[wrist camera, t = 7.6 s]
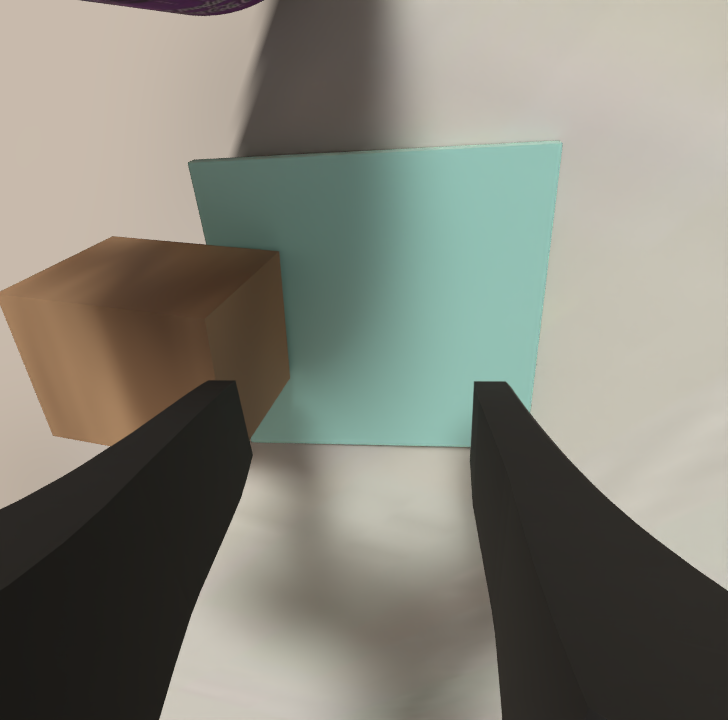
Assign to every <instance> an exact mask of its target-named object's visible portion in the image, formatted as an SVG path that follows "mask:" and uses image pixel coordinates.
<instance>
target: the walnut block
mask: <svg viewBox="0 0 728 720" xmlns="http://www.w3.org/2000/svg"><path fill="white" fill-rule="evenodd" d="M0 306H1V308H2V310H3V313H4V316H5V318H6V321H7V323H8V325H9V328H10V330H11V333H12V335H13V338H14V340H15V343H16V345H17V348H18V350H19V352H20V355H21V358H22V360H23V362H24V365H25V367H26V370H27V372H28V375H29V377H30V380H31V382H32V385H33V387H34V390H35V392H36V395H37V397H38V400H39V402H40V404H41V407H42V409H43V412H44V414H45V417H46V419H47V422H48V424H49V427H50V429H51V432H52V434H53V436H58V437H63V438H68V439H74V440H80V441H85V442H91V443H96V444H101V445H107V446H112V445H114V444H115V443H117V442H118V441H120V440H121V439H123V438H124V437H126V436H128V435H129V434H130V433H132V432H133V431H135V430H136V429H138V428H139V427H140V426H142V425H143V424H145V423H146V422H148V421H149V420H150V419H152V418H153V417H155V416H156V415H158V414H159V413H160V412H162V411H163V410H165V409H166V408H167V407H169V406H170V405H172V404H173V403H175V402H176V401H177V400H179V399H180V398H182V397H183V396H184V395H186V394H187V393H189V392H190V391H192V390H193V389H195V388H196V387H198V386H199V385H201V384H203V383H204V382H206V381H208V380H236V384H237V389H238V393H239V397H240V402H241V406H242V410H243V415H244V419H245V423H246V428H247V432H248V436H249V440H250V439H251V437H252V436H253V434H254V433H255V431H256V429H257V428H258V426H259V425H260V423H261V422H262V420H263V419H264V417H265V416H266V414H267V413H268V411H269V410H270V408H271V407H272V405H273V403H274V402H275V400H276V399H277V397H278V396H279V394H280V393H281V391H282V390H283V388H284V387H285V385H286V384H287V382H288V381H289V379H290V370H289V359H288V347H287V336H286V324H285V312H284V301H283V289H282V278H281V266H280V255H279V251H271V250H260V249H248V248H237V247H226V246H215V245H204V244H193V243H181V242H170V241H158V240H148V239H136V238H125V237H114V236H112V237H110V238H108V239H106V240H104V241H102V242H100V243H98V244H96V245H94V246H92V247H90V248H88V249H86V250H84V251H82V252H80V253H78V254H76V255H74V256H72V257H69V258H68V259H65V260H63V261H61V262H59V263H57V264H55V265H53V266H51V267H49V268H47V269H45V270H43V271H41V272H39V273H37V274H35V275H33V276H31V277H29V278H27V279H25V280H23V281H21V282H19V283H17V284H15V285H12V286H10V287H8V288H6V289H4V290H2V291H1V292H0Z"/></svg>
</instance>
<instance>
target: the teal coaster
mask: <svg viewBox="0 0 728 720" xmlns="http://www.w3.org/2000/svg"><path fill="white" fill-rule="evenodd" d="M562 144H563V143H562V142H560V141H540V142H522V143H503V144H484V145H465V146H446V147H427V148H408V149H389V150H370V151H351V152H332V153H313V154H294V155H275V156H256V157H237V158H219V159H199V160H192V161H190V162H188V166H189V170H190V175H191V179H192V184H193V188H194V192H195V196H196V201H197V205H198V210H199V214H200V219H201V223H202V227H203V232H204V236H205V240H206V245H215V246H226V247H237V248H248V249H260V250H271V251H279V255H280V266H281V278H282V289H283V301H284V312H285V324H286V336H287V347H288V359H289V370H290V379H289V381H288V382H287V384H286V385H285V387H284V388H283V390H282V391H281V393H280V394H279V396H278V397H277V399H276V400H275V402H274V403H273V405H272V407H271V408H270V410H269V411H268V413H267V414H266V416H265V417H264V419H263V420H262V422H261V423H260V425H259V426H258V428H257V429H256V431H255V433H254V434H253V436H252V437H251V442H263V443H311V444H358V445H406V446H453V447H471V430H472V411H473V391H474V381H506V382H507V383H508V384H509V385H510V386H511V388H512V389H513V390H514V392H515V393H516V395H517V396H518V398H519V399H520V400H521V402H522V403H523V404H524V406H525V407H526V409H527V410H528V411H529V412H530V409H531V401H532V392H533V384H534V376H535V368H536V359H537V351H538V343H539V335H540V326H541V318H542V310H543V301H544V293H545V285H546V277H547V268H548V260H549V252H550V244H551V235H552V227H553V219H554V210H555V202H556V194H557V186H558V177H559V169H560V161H561V153H562Z"/></svg>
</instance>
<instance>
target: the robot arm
mask: <svg viewBox="0 0 728 720" xmlns="http://www.w3.org/2000/svg"><path fill="white" fill-rule="evenodd" d="M252 456H253V454H252V449H251V445H250V441H249V436H248V432H247V428H246V423H245V419H244V415H243V410H242V406H241V402H240V397H239V393H238V389H237V384H236V380H208V381H206V382H204V383H203V384H201V385H199V386H198V387H196V388H195V389H193V390H192V391H190V392H189V393H187V394H186V395H184V396H183V397H182V398H180V399H179V400H177V401H176V402H175V403H173V404H172V405H170V406H169V407H167V408H166V409H165V410H163V411H162V412H160V413H159V414H158V415H156V416H155V417H153V418H152V419H150V420H149V421H148V422H146V423H145V424H143V425H142V426H140V427H139V428H138V429H136V430H135V431H133V432H132V433H130V434H129V435H128V436H126V437H124V438H123V439H121V440H120V441H118V442H117V443H115V444H114V445H112V446H111V447H109V448H108V449H106V450H104V451H103V452H101V453H100V454H98V455H97V456H95V457H94V458H92V459H91V460H89V461H87V462H86V463H84V464H83V465H81V466H80V467H78V468H76V469H75V470H73V471H71V472H70V473H68V474H66V475H64V476H63V477H61V478H59V479H57V480H56V481H54V482H52V483H50V484H48V485H46V486H45V487H43V488H41V489H39V490H37V491H36V492H34V493H32V494H30V495H28V496H26V497H24V498H22V499H21V500H19V501H17V502H15V503H13V504H11V505H9V506H7V507H4V508H2V509H0V720H159V718H160V715H161V711H162V708H163V704H164V701H165V698H166V694H167V691H168V688H169V684H170V681H171V677H172V674H173V671H174V667H175V664H176V661H177V658H178V655H179V651H180V648H181V645H182V642H183V639H184V636H185V633H186V630H187V627H188V623H189V620H190V617H191V614H192V612H193V609H194V607H195V604H196V601H197V599H198V596H199V594H200V591H201V589H202V587H203V584H204V582H205V580H206V578H207V575H208V573H209V571H210V568H211V566H212V564H213V562H214V559H215V557H216V555H217V552H218V550H219V548H220V546H221V543H222V541H223V539H224V536H225V534H226V532H227V530H228V527H229V525H230V523H231V520H232V518H233V515H234V513H235V511H236V508H237V506H238V504H239V501H240V499H241V496H242V493H243V489H244V486H245V483H246V479H247V475H248V472H249V468H250V464H251V460H252ZM470 468H471V485H472V499H473V508H474V514H475V520H476V525H477V531H478V537H479V542H480V548H481V553H482V559H483V564H484V570H485V575H486V581H487V586H488V592H489V597H490V603H491V608H492V615H493V622H494V629H495V638H496V649H497V661H498V672H499V684H500V696H501V708H502V720H728V591H727V590H726V589H724V588H723V587H721V586H720V585H719V584H717V583H716V582H714V581H713V580H711V579H710V578H708V577H707V576H706V575H704V574H703V573H701V572H700V571H698V570H697V569H695V568H694V567H693V566H691V565H690V564H689V563H687V562H686V561H685V560H683V559H682V558H681V557H679V556H678V555H677V554H675V553H674V552H673V551H671V550H670V549H669V548H667V547H666V546H665V545H663V544H662V543H661V542H659V541H658V540H657V539H655V538H654V537H653V536H651V535H650V534H649V533H648V532H646V531H645V530H644V529H643V528H641V527H640V526H639V525H638V524H637V523H635V522H634V521H633V520H632V519H631V518H630V517H628V516H627V515H626V514H625V513H624V512H623V511H621V510H620V509H619V508H618V507H617V506H616V505H615V504H613V503H612V502H611V501H610V500H609V499H608V498H607V497H606V496H605V495H604V494H603V493H601V492H600V491H599V490H598V489H597V488H596V487H595V486H594V485H593V484H592V483H591V482H590V481H589V480H588V479H587V478H586V477H585V476H584V475H583V474H582V473H581V472H580V471H579V469H578V468H577V467H576V466H575V465H574V464H573V463H572V462H571V461H570V460H569V459H568V458H567V457H566V456H565V454H564V453H563V452H562V451H561V450H560V449H559V448H558V446H557V445H556V444H555V443H554V442H553V441H552V440H551V438H550V437H549V436H548V435H547V434H546V433H545V431H544V430H543V429H542V428H541V426H540V425H539V424H538V423H537V421H536V420H535V419H534V418H533V416H532V415H531V414H530V412H529V411H528V410H527V409H526V407H525V406H524V404H523V403H522V402H521V400H520V399H519V398H518V396H517V395H516V393H515V392H514V390H513V389H512V388H511V386H510V385H509V384H508V383H507V382H506V381H474V391H473V411H472V430H471V450H470Z"/></svg>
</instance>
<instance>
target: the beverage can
mask: <svg viewBox="0 0 728 720" xmlns="http://www.w3.org/2000/svg"><path fill="white" fill-rule="evenodd" d="M82 1H89V2H97V3H104V4H111V5H119V6H127V7H133V8H141V9H149V10H156V11H163V12H171V13H178V14H185V15H195V16H196V15H197V16H210V15H221V14H227V13H232V12H235V11H239V10H242V9H245V8H248V7H251V6H253V5H255V4H257V3H259V2H262V1H264V0H82Z"/></svg>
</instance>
